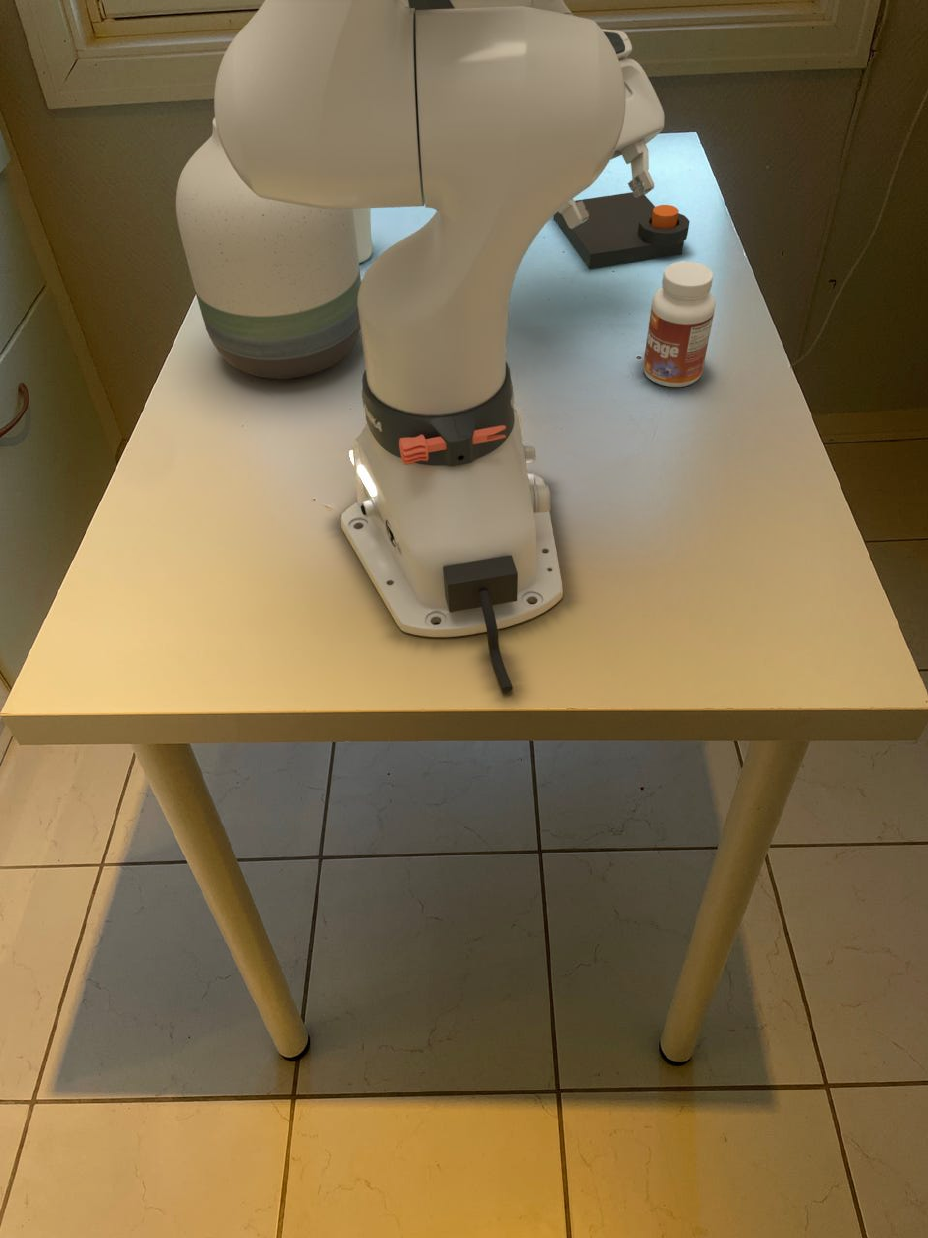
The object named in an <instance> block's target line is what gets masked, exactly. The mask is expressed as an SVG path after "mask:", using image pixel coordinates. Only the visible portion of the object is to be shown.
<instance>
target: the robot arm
mask: <svg viewBox="0 0 928 1238" xmlns="http://www.w3.org/2000/svg"><path fill="white" fill-rule="evenodd" d="M632 51H633V45H632V43H631V40H630V38H629V37H628V35H627V33H626V32H624V31H621V30H612V29H602V28H601V27H600V26H599V25H598V23H597V22H596V21H595V20H593V19H590V18H585V17H580V16H576V15H574V13H573V12H572V11H571V10H570V9H569V8H568V6H567V4H566V3H565V1H564V0H264V1H263V3H262V4H261V5H260V7H259V9H258V10H257V11H256V13H255V14H254V15H253V16H252V18H251V19H250V20H249V21H248V23H247V24H245V25H244V27H243V28H241V30H239V32H238V33H236V34H235V36H234V38H233V39H232V41H231V43H230V44H229V45H228V47H227V49H226V51H225V52H224V55H223V57H222V60H221V62H220V64H219V67H218V71H217V75H216V78H215V85H214V95H213V104H214V105H213V110H214V117H215V120H216V126H217V130H218V134H219V138H220V141H221V144H222V147H223V149H224V151H225V153H226V156H227V158H228V160H229V162H230V163H231V165H232V167H233V168H234V170H235V171H236V173H237V174H238V175H239V177H240V178H241V180H242V181H243V182H244V183H245V184H246V185H247V186H248V187H249V188H250V189H251V190H252V191H253V192H254V193H255V194H256V195H257V196H259V197H260V198H264V199H270V200H275V201H280V202H285V203H290V204H295V205H301V206H307V207H314V208H320V209H326V210H334V209H362V208H371V209H387V208H414V207H415V208H416V207H424V208H427V209H433V210H435V213H434V214H433V216H432V217H431V218H430V219H429V220H428V222H426V223H425V224H424V225H423V226H422V227H421V228H419V229H418V230H416V231H414V232H413V233H411V234H410V235H408V236H406V237H404V238H402V239H401V240H398V241H397V242H395V243H393V244H392V245H391V246H389V247H388V248H386V249H385V250H384V251H383V252H382V253H381V254H380V255H378V256H377V258H376V259H375V260H374V261H373V262H372V263H371V265H370V266H369V267H368V268H367V270H366V272H365V273H364V275H363V277H362V278H361V284H360V288H359V291H358V299H357V305H358V313H359V321H360V328H361V329H360V335H361V344H362V351H363V359H364V367H365V369H364V371H363V372H362V373H363V374H362V379H361V385H362V389H361V400H362V406H363V409H364V413H365V420H366V423H365V426H364V427H363V429H362V431H361V432H360V434H359V435H358V436H357V437H356V438H355V440H354V442H353V443H352V444H351V450H349V452H348V453H349V458H350V461H351V463H352V465H353V471H354V472H353V473H354V479H355V480H354V481H355V488H356V489H355V490H356V498H357V499H356V501H355V502H353V503H352V504H351V505H349V506H348V507H347V508H346V509H345V510H344V511H343V512H342V513H341V515H340V527H341V530H342V532H343V535H344V536H345V538H346V539H347V541H348V542H349V544H350V546H351V548H352V549H353V551H354V553H355V554H356V556H357V558H358V560H359V561H360V563H361V565H362V567H363V568H364V570H365V572H366V573H367V575H368V577H369V579H370V581H371V582H372V584H373V585H374V587H375V589H376V591H377V592H378V594H379V596H380V598H381V600H382V601H383V603H384V605H385V606H386V608H387V610H388V612H389V613H390V615H391V617H392V619H393V620H394V622H395V623H396V626H397V627H398V628H399V629H400V630H401V631H402V632H403V633H406V634H410V635H415V636H418V637H419V636H420V637H427V638H454V637H455V638H456V637H463V636H471V635H478V634H482V633H486V635H487V636H486V637H487V646H488V652H489V657H490V661H491V664H492V668H493V670H494V673H495V675H496V677H497V681H498V682H499V686H500V688H501V691H502V693H504V694H508V693H510V692H512V691H513V689H514V687H513V684H512V681H511V678H510V676H509V674H508V671H507V669H506V666H505V664H504V661H503V657H502V652H501V650H500V649H501V648H500V643H499V631H498V630H500V629H504V628H509V627H511V626H515V625H518V624H522V623H524V622H526V621H530V620H532V619H534V618H536V617H538V616H540V615H542V614H544V613H546V612H547V611H548V610H550V609H551V608H553V607H554V606H556V605H557V604H558V603H559V602H560V601H561V600H562V599H563V596H564V589H563V579H562V574H561V568H560V564H559V559H558V558H559V557H558V552H557V547H556V540H555V536H554V535H555V534H554V530H553V526H552V518H551V512H550V511H551V508H552V507H551V505H552V503H551V502H552V500H551V499H552V498H551V491H550V486H549V484H546V483H545V481H544V479H543V477H541V476H539V475H537V474H535V473H532V472H528V467H527V463H528V464H529V463H533V462H534V463H535V462H536V460H537V456H536V453H537V452H536V447H535V445H525V444H524V441H523V436H522V426H523V425H522V423H523V414H522V413H521V412H519V411H518V410H517V409H515V407H514V404H515V394H514V385H513V380H512V377H511V376H512V375H511V368H510V366H509V363H508V361H507V340H508V339H507V337H508V336H507V335H508V324H509V312H510V305H511V303H510V302H511V296H512V289H513V285H514V281H515V278H516V275H517V272H518V270H519V268H520V266H521V263H522V261H523V259H524V257H525V255H526V253H527V251H528V249H529V248H530V247H531V245H532V243H533V242H534V240H535V239H536V237H537V236H538V235H539V234H540V232H541V231H542V229H543V228H544V227H545V225H546V224H547V223H548V222H549V221H550V220H551V219H552V218H553V216H554V214H555V213H556V212H557V211H558V212H559V213H560V214H561V213H562V215H563V217H564V219H565V221H566V223H567V225H568V227H569V228H570V229H573V228H575V227H577V226H579V225H581V224H583V223H584V222H585V221H587V220H588V219H589V213H588V211H587V210H586V209H585V205H584V203H583V201H579V202H577V203H576V202H575V201H576V200H575V199H574V198H576V197H577V196H578V195H580V194H582V192H584V191H586V190H587V189H588V188H590V187H591V186H592V185H593V184H594V183H595V181H597V180H598V178H599V177H600V175H601V174H602V173H603V172H604V171H605V170H606V167H607V166H608V164H610V163H609V162H610V161H611V160H613V159H616V158H618V157H620V156H621V157H622V159H623V160H624V162H625V164H626V165H629V164H630V169H631V178H632V179H631V180H630V181H629V182H627V185H628V187H629V189H630V190H631V192H633V195H634V197H636V198H638V197H641V196H643V195H645V196H646V195H647V194H649V193H650V192H651V191H652V190H653V189H655V182H654V180H653V178H652V176H651V173H650V172H649V168H650V167H649V164H650V163H649V158H650V157H649V156H650V155H649V148H648V146H647V144H648V143H650V142H651V141H652V140H653V139H654V138H656V137H657V136H658V135H659V134H660V133H661V132H662V131H663V130H664V128H665V117H666V116H665V111H664V109H663V106H662V103H661V101H660V99H659V97H658V95H657V92H656V90H655V89H654V86H653V85H652V83H651V80H650V79H649V76H648V75H647V73H646V71H645V70H644V69H643V67H642V66H641V65H640V63H639V62H638V61H637V60H635V59H633V58H631V57H628V56H629V55H630V54H631V53H632Z"/></svg>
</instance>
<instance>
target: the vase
mask: <svg viewBox="0 0 928 1238" xmlns="http://www.w3.org/2000/svg"><path fill="white" fill-rule="evenodd" d="M175 193H176V194H175V214H176V219H177V220H176V221H177V226H178V230H179V235H180V239H181V243H182V245H183V247H182V248H183V250H184V254H185V258H186V262H187V266H188V269H189V270H188V271H189V273H190V277H191V281H192V285H193V288H194V291H195V295H196V299H197V303H198V306H199V310H200V313H201V317H202V320H203V324H204V326H205V330H206V332H207V334H208V337H209V339H210V341H211V342H212V344H213V347H215V349H216V350H217V352H218V353H219V354H220V356H222V358H223V359H224V360H225V361H226V362H228V364H230V366H232V367H234V368H236V369H237V370H240V371H241V372H244V373H246V374H248V375H251V376H254V377H255V376H256V377H261V378H266V379H295V378H300V377H305V376H309V375H313V374H316V373H319V372H321V371H324V370H325V369H328V368H330V367H331V366H334V365H335V364H337V363H338V362H340V361H341V360H342V359H343V358H344V357H345V356H347V354H349V352H350V351H351V350H352V349H353V348H354V346H355V344H356V342H357V340H358V339H359V335H360V334H361V328H360V321H359V313H358V305H357V299H358V291H359V288H360V284H361V281H362V277H361V276H362V275H361V268H360V263H359V258H358V250H357V241H356V233H355V224H354V216H353V209H334V210H326V209H320V208H314V207H307V206H301V205H295V204H290V203H285V202H280V201H275V200H270V199H264V198H260V197H259V196H257V195H256V194H255V193H254V192H253V191H252V190H251V189H250V188H249V187H248V186H247V185H246V184H245V183H244V182H243V181H242V180H241V178H240V177H239V175H238V174H237V173H236V171H235V170H234V168H233V167H232V165H231V163H230V162H229V160H228V158H227V156H226V153H225V151H224V149H223V147H222V144H221V141H220V138H219V134H218V130H217V126H216V120H215V116H214V117H213V119H212V133H211V136H210V137H209V138H208V139H207V140H206V141H205V142H204V143H203V144H202V145H201V146H200V147H199V148H198V149H197V150H196V151H195V152H194V153H193V155H192V156H191V157H190V158H189V159H188V161H187V162H186V164H185V165H184V167H183V169H182V171H181V173H180V175H179V178H178V181H177V186H176V192H175Z"/></svg>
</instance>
